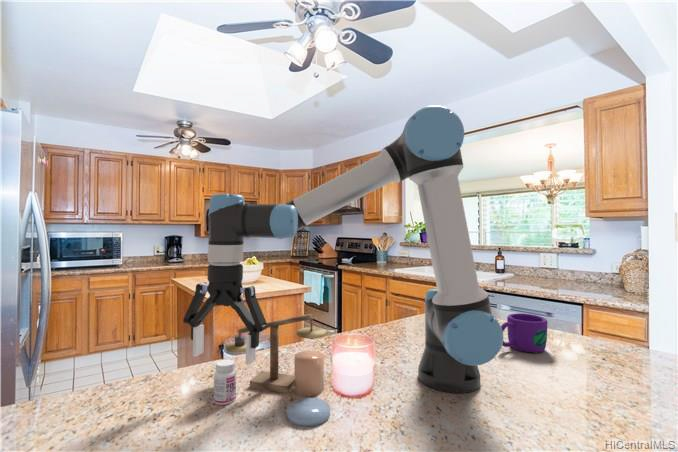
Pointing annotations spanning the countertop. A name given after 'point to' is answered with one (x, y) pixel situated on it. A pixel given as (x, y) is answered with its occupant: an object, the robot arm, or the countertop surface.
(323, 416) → the grey smooth pebble
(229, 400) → the pill bottle
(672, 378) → the countertop surface
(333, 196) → the robot arm
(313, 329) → the balance
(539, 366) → the countertop surface
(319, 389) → the tan upright cylinder
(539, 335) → the mug
